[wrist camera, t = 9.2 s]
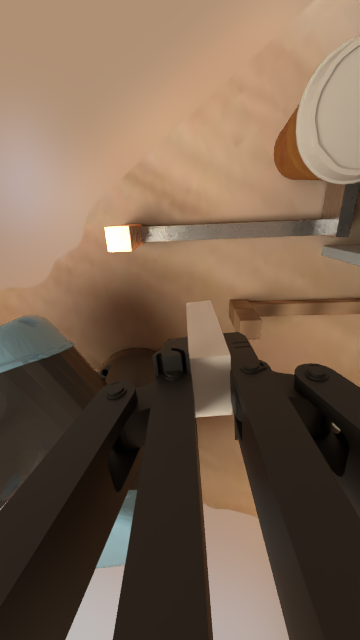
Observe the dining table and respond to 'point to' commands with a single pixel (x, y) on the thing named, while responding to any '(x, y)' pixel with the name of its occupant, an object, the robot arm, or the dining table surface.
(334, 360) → the dining table surface
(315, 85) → the disposable coffee cup
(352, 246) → the shelf cubby
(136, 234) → the wood-tipped metal rod
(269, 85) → the dining table surface
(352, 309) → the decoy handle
